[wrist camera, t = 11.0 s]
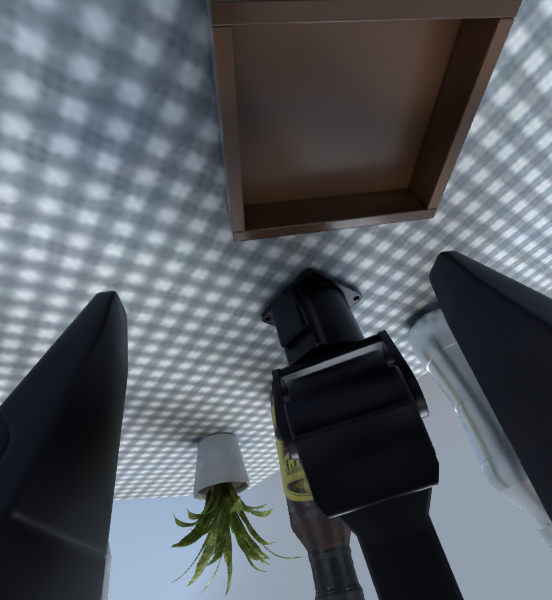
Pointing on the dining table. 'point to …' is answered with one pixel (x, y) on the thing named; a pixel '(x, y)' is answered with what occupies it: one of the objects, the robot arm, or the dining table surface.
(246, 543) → the house plant
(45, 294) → the dining table surface
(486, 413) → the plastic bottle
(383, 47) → the brown wooden tray
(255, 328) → the dining table surface
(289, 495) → the sauce bottle
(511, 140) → the dining table surface
